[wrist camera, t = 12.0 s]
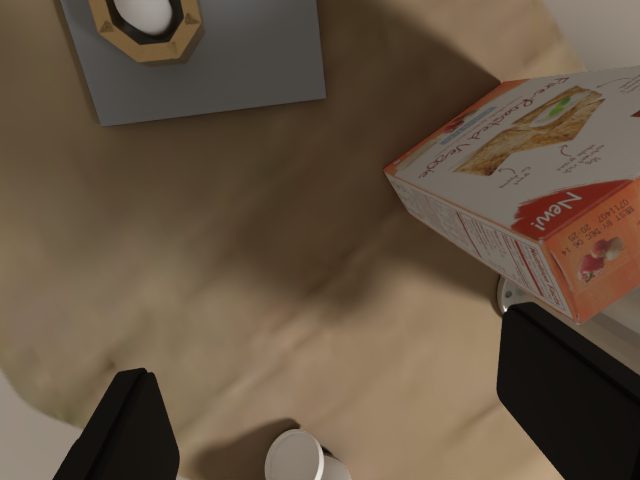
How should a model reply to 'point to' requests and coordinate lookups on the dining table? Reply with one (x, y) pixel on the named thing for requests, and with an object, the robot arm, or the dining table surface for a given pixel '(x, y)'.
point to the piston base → (202, 58)
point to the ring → (151, 54)
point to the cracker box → (539, 186)
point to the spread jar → (302, 459)
